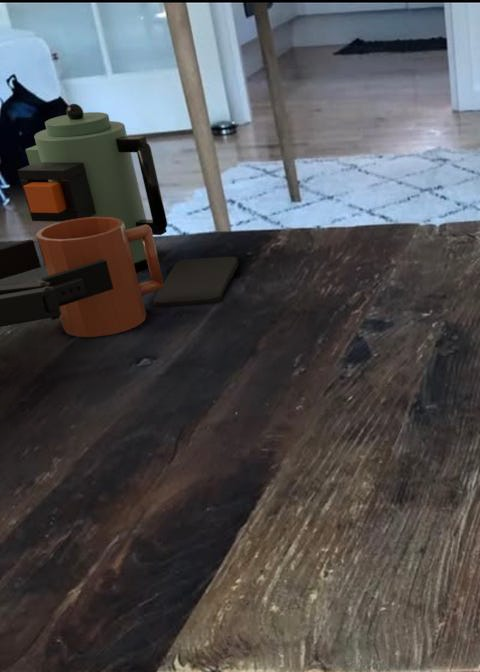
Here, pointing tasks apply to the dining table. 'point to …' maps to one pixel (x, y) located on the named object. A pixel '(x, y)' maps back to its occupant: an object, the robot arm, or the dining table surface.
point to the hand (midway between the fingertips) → (70, 263)
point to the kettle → (96, 173)
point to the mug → (113, 246)
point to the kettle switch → (45, 197)
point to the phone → (196, 281)
